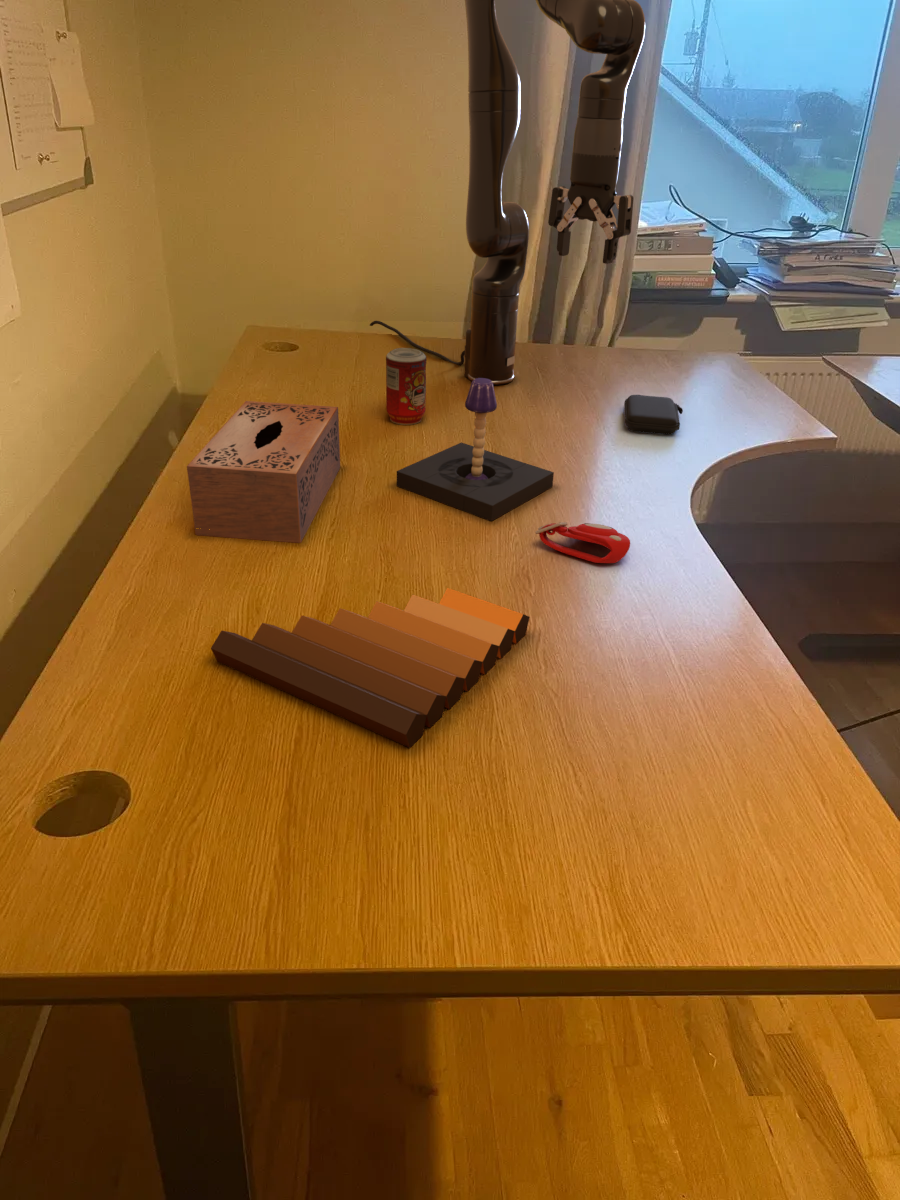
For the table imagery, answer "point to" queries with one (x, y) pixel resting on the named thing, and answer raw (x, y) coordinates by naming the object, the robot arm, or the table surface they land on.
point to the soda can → (405, 385)
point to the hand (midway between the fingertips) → (585, 259)
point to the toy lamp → (480, 420)
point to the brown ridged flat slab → (381, 659)
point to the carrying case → (651, 414)
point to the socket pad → (475, 481)
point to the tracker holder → (588, 540)
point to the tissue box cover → (265, 472)
